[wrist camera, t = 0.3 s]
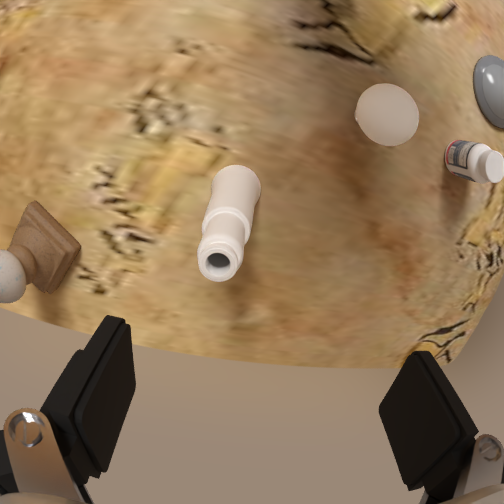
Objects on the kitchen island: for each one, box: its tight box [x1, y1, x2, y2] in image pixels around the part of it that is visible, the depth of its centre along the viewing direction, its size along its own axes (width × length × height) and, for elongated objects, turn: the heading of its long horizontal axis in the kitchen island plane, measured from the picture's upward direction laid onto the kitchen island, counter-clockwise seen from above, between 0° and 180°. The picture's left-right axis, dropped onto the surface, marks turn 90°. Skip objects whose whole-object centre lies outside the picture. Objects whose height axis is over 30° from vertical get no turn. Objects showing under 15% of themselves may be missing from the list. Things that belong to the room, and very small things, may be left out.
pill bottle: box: [445, 140, 504, 184], centre depth 31 cm, size 5×5×9 cm
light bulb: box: [354, 83, 419, 146], centre depth 29 cm, size 7×7×11 cm
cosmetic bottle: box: [197, 165, 261, 282], centre depth 27 cm, size 6×6×22 cm
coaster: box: [473, 55, 504, 128], centre depth 30 cm, size 12×12×1 cm
